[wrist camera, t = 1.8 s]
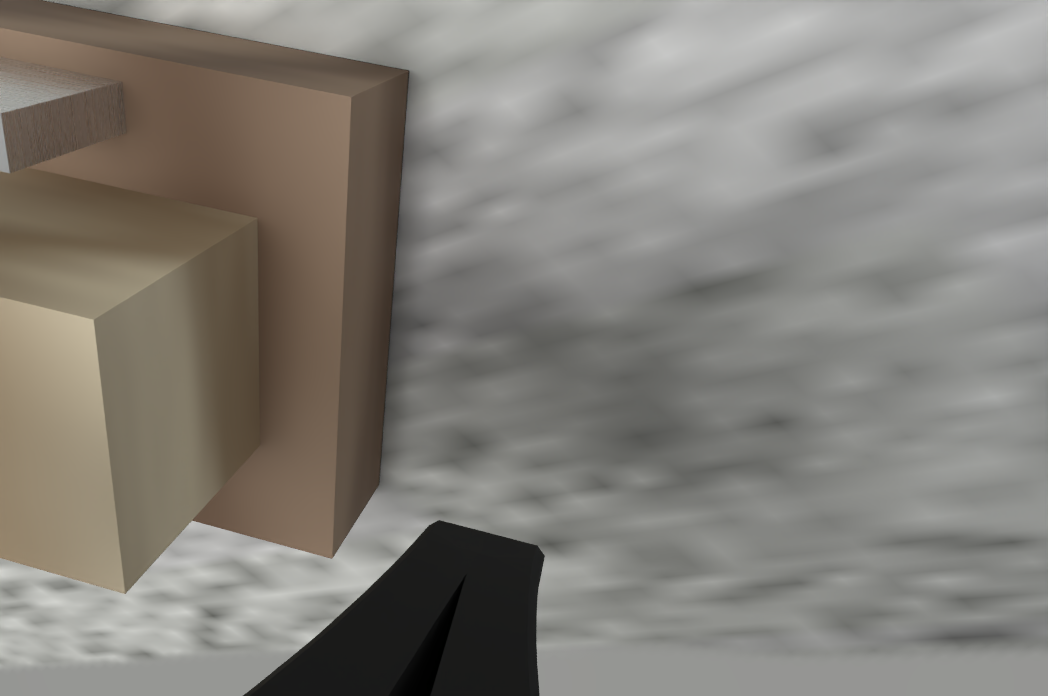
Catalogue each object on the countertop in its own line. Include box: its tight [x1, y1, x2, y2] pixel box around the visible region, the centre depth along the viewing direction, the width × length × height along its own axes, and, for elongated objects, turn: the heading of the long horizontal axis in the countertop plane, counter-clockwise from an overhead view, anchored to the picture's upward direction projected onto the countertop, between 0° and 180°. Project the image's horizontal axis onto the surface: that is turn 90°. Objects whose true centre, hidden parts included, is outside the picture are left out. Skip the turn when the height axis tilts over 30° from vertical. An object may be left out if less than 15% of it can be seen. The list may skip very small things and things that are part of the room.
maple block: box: [0, 167, 260, 594], centre depth 13 cm, size 4×4×4 cm
